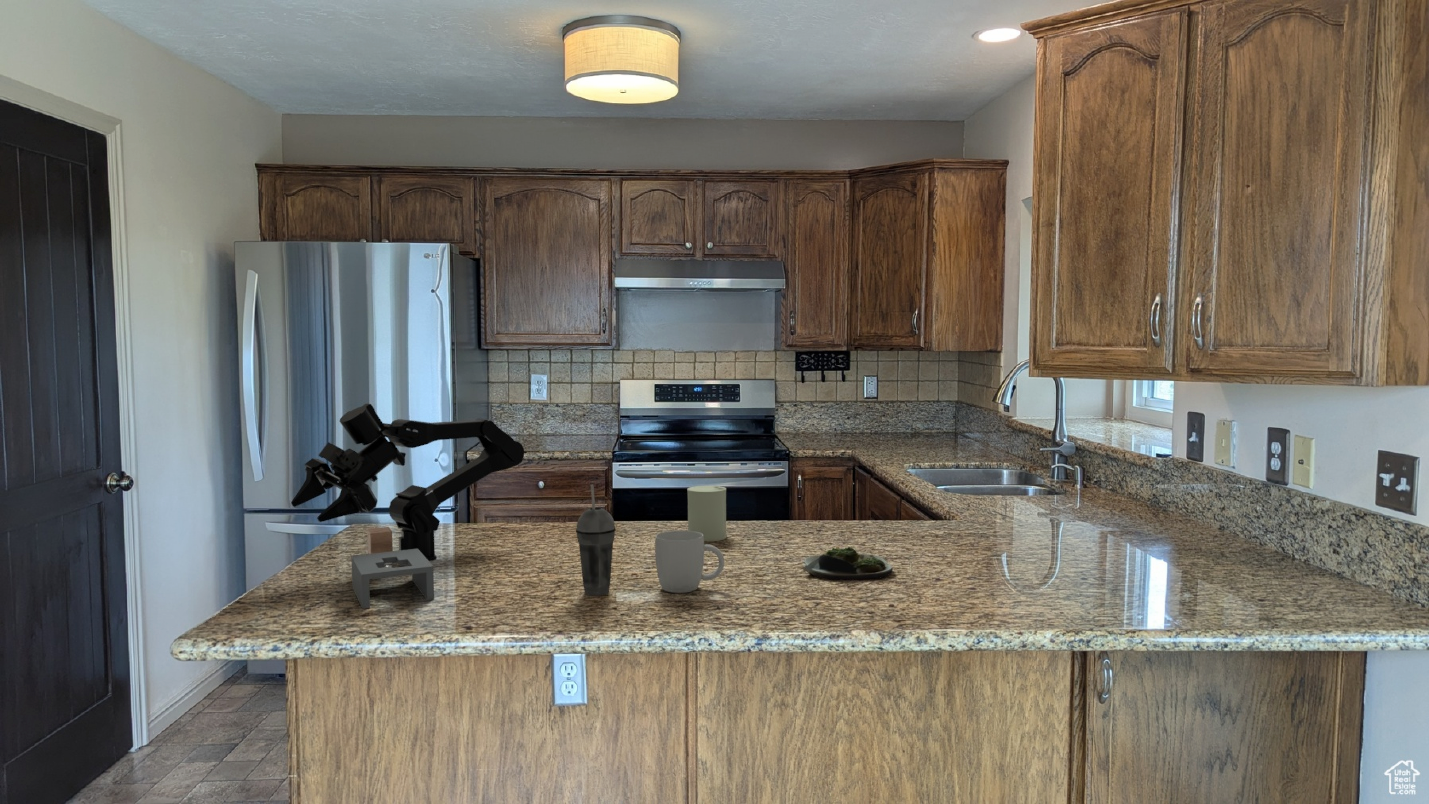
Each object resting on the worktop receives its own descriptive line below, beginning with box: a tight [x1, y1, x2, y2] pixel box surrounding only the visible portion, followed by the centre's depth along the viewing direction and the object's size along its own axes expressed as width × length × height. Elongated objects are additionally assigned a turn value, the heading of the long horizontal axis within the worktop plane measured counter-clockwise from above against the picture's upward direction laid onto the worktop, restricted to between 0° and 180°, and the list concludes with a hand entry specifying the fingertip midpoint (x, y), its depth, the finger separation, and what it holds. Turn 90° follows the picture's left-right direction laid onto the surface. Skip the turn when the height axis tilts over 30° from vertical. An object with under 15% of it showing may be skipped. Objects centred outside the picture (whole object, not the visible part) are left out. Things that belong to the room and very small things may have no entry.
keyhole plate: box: [351, 549, 435, 610], centre depth 166 cm, size 12×16×6 cm
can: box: [686, 485, 728, 543], centre depth 211 cm, size 9×9×12 cm
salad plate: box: [802, 546, 893, 581], centre depth 182 cm, size 19×18×5 cm
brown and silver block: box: [366, 526, 394, 570], centre depth 179 cm, size 4×5×9 cm
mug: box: [654, 530, 725, 594], centre depth 167 cm, size 13×9×10 cm
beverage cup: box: [575, 484, 617, 597], centre depth 165 cm, size 7×7×20 cm
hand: (305, 512), depth 176 cm, fingers open, 9 cm apart
